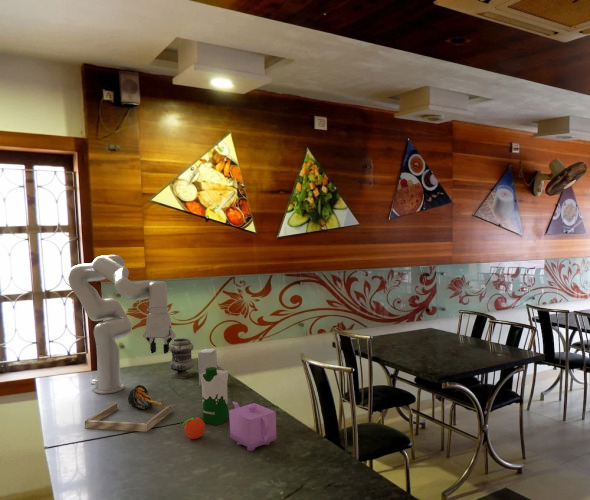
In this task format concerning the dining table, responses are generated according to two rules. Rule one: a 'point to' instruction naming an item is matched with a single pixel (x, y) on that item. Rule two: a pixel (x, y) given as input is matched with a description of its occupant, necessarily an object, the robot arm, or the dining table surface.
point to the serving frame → (128, 426)
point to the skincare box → (206, 361)
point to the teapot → (252, 425)
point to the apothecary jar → (181, 357)
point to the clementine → (194, 427)
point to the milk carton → (214, 396)
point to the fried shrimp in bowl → (141, 398)
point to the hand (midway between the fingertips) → (159, 352)
